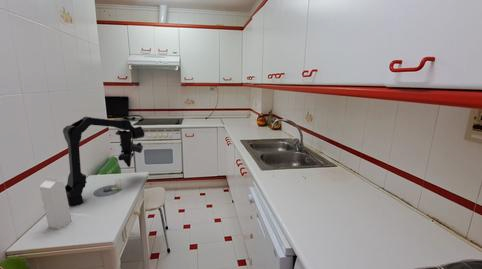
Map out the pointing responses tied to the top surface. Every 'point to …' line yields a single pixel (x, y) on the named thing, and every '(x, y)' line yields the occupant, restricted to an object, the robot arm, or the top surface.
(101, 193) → the grey round disc
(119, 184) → the peg
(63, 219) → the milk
